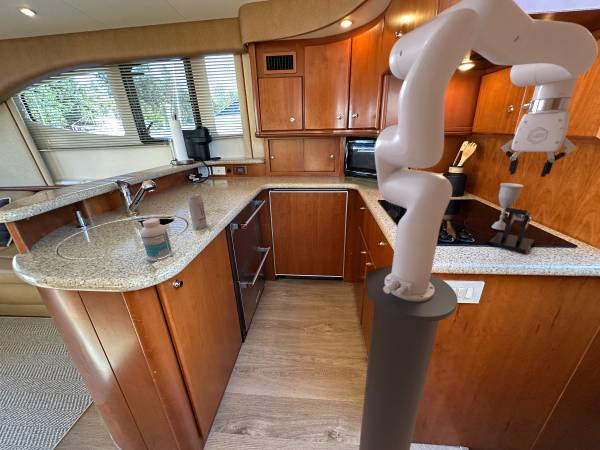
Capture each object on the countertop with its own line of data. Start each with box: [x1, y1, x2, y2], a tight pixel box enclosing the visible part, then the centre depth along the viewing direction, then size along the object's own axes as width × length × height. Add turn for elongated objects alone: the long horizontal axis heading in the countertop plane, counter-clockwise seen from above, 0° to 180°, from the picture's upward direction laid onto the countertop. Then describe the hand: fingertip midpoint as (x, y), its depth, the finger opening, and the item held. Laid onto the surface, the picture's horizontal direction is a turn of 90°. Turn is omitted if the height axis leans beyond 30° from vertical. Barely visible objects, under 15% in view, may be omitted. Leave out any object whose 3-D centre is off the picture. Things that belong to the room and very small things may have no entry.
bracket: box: [488, 211, 535, 255], centre depth 82 cm, size 12×10×12 cm
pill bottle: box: [140, 218, 173, 262], centre depth 80 cm, size 8×7×14 cm
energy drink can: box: [187, 193, 208, 230], centre depth 107 cm, size 6×6×15 cm
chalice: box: [491, 182, 524, 231], centre depth 95 cm, size 7×7×18 cm
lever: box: [505, 207, 529, 223], centre depth 77 cm, size 12×5×2 cm, turn 129°
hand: (527, 174), depth 70 cm, fingers open, 6 cm apart
